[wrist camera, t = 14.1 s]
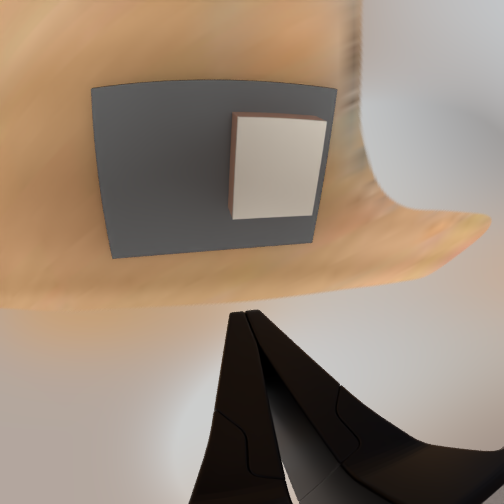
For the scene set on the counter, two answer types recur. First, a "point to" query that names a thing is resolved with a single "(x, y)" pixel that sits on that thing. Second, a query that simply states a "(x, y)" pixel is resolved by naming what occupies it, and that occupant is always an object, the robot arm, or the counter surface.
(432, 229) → the counter surface
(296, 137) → the tile
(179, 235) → the mat
